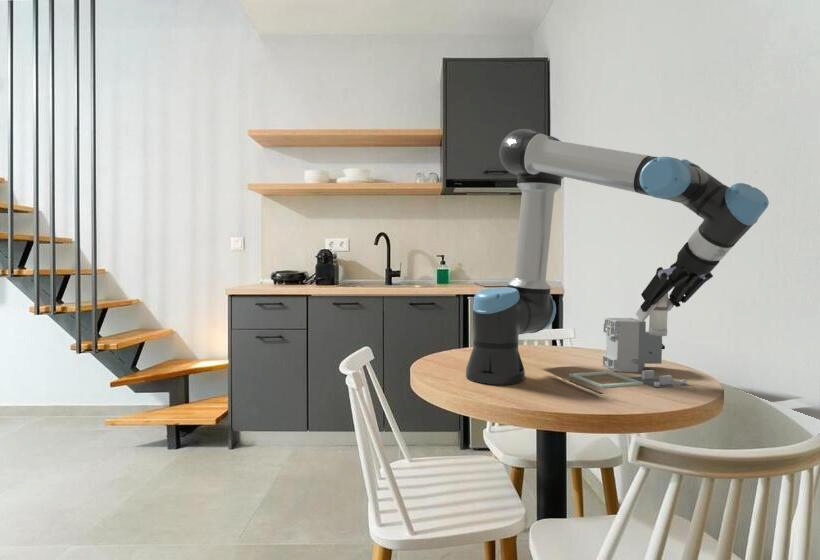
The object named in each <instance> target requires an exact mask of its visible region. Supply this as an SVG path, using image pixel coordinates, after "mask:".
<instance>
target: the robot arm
mask: <svg viewBox="0 0 820 560" xmlns="http://www.w3.org/2000/svg"><path fill="white" fill-rule="evenodd" d="M498 152H499V155H498V156H499V160H500V163H501V164H502V166H503V168H505V170H506V171H507V172H509V173H511V174H512V175H513V174H514V175H516V176H517V180H516V181H517V183H516V187H518V189H519V190H520V191H521V199H520V208H519V220H518V221H519V222H518V232H517V244H516V253H515V254H516V255H515V265H514V275H513V276H514V277H513V278H512V279H511V280H510V281H509V282H508V283H507V286H504V287H501V286H500V287H495V288H493V287H491V288H489V287H488V288H484V289H481V290H478V291H477V292H475V294H474V296H473V305H472V310H473V312H472V313H473V316H472V318H473V319H472V320H473V321H472V322H473V323H472V329H473V330H472V331H473V332H472V333H473V334H472V337H473V338H472V343H473V344H472V349H471V353H470V356H469V359H468V361H467V365H466V369H465V377H466V378H467V379H468V380H469V379H470V380H469V381H472V380H473V382H475V381H476V382H475V383H479V382H480V384H485V383H487V384H486V385H515V384H520V383H522V382H524V381H525V377H526V375H525V374H526V372H525V371H526V370H525V368H524V365H523V364H524V363H523V361H522V358H521V355H520V352H519V335H525V334H535V333H539V332H541V331H544V330H545V329H547V328H548V327H550V325H551V324H552V323H553V322H554V319H555V317H556V314H557V306H556V302H555V300H554V299H553V296H552V295H551V286H550V284H549V283H548V282H547V280H546V279H547V269H548V260H549V259H548V258H549V250H550V239H551V230H552V222H553V212H554V211H553V209H554V200H555V193H556V192H557V191H559V189H561V187H562V180H563V179H564V178H568V179H572V180H576V181H582V182H586V183H591V184H596V185H600V186H605V187H608V188H613V189H618V190H623V191H628V192H632V193H636V194H639V195H645V196H649V197H653V198H656V199H659V200H660V199H661V200H667V201H671V202H673V203H674V202H675V203H679V204H682V205H683V207H686V208H687V209H689V210H690V211H692V212H693V213H694V214H696V215H697V216H698V217H700V218H701V219H703V221H702V222H701V223H700V224H699V226H698V227H697V228H696V230H695V231H694V232H693V233H692V234H691V235H690V237H689V238H688V240H687V242H686V243H684V245H683V246H682V248H681V249H679V251H678V253H677V254H676V255H677V256H676V257H677V258H676V261H675V262H674V263H672V264H671V265H670V267H669V268H663V267H662V266H660V267H657V269H656V272H655V275H654V276H653V277H652V279H651V280H650V281H649V283H648V284H647V286H646V287H645V288H644V290H643V291H642V293H641V294H640V295H641V297H642V299H643V300H644V301H643V302H642V303H641V304H640V306H639V308H638V310H637V311H636V313H635V315H636V317H637V319H638V320H639V321H640V322H644V321H646V319H648V317H650V313H651V312H652V311H653V310H654V309H655V307H656V306H657V305H656V303H657V302H658V301H659V300H660V299H661V298H662V297H663V296H664V295H665V294H667V293H668V311H667V313H668V312H669V311H671V310H672V309H673V308H674V306H675V307H676V308H679V307H680V306H681V303H683V304H685V303H686V302H688V301H689V299H691V298H692V297H693V295H695V293H697V291H699V289H700V288H701V287H702V286H703V285H704V284H705V283H707V282H708V281H709V280H711V279H712V278H713V277H714V275H713V274H712V271H713V270H714V269H715V268H716V266H717V265H719V263H720V261H721V260H723V258H725V256H726V255H727V254H728V253H729V251H730V250H732V249H733V247H734V246H735V245H736V244H737V243H738V242H739V241H740V240H741V239H742V237H744V236H745V234H746V233H747V232H748V231H749V230H750V229H751V228H752V227H753V226H754V225H755V224H756V223H757V222H758V220H759V219H760V217H761V216H762V215H763V213H764V212H765V211H766V210H767V208H768V207H769V204H770V203H769V202H770V201H769V198H768V197H767V195H766V194H765V193H764V192H763V191H762V190H760V189H759V188H757V187H755V186H752V185H750V184H748V183H745V182H744V183H743V182H740V183H739V182H738V183H734V184H732V185H731V186H727V185H725V184H724V183H722V182H721V181H720V180H719V179H717V178H715V177H714V175H713V176H712V174H710V173H709V172H707V171H705V170H704V169H702V168H701V166H699V165H698V164H695V163H694V162H691V161H690V160H689V159H685V158H684V159H679V158H676V157H671V156H651V155H649V154H641V153H637V152H636V153H634V152H629V151H622V150H616V149H610V148H604V147H597V146H592V145H586V144H585V145H584V144H580V143H575V142H574V143H573V142H567V141H562V140H560V139H559V138H557V137H554V136H552V135H547V134H544V133H541V132H538V131H536V130H532V129H529V128H519V129H516V130H513V131H511V132H510V133H508V134H507V135H506V136H505V137H504V139H503V140H502V141H501V144H500V146H499V151H498ZM671 290H672V291H671ZM670 291H671V292H670ZM669 292H670V294H669ZM680 302H681V303H680Z"/></svg>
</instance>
